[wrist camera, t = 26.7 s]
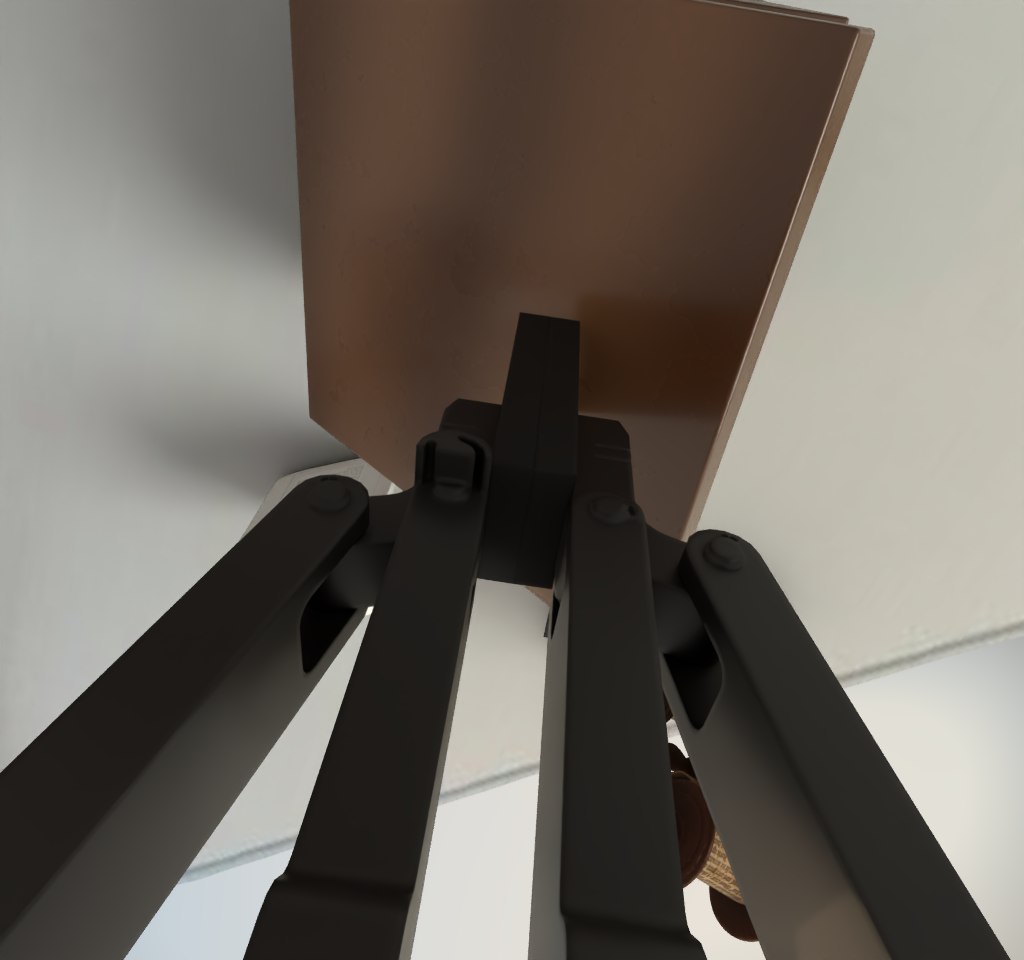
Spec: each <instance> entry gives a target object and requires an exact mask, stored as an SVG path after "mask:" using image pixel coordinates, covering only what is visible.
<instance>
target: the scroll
mask: <svg viewBox="0 0 1024 960" xmlns="http://www.w3.org/2000/svg"><path fill="white" fill-rule="evenodd" d="M663 697H664V707H665V717H666V722H668V721H669V720H670V719H671V718H672V719H673V720H675V719H674V717H673V714H672V711H671V709H670V706H669V703H668V701H667V698H666V696H665V693H664V690H663ZM668 747H669V756H670V766H671V770H672V771H674V772H671V776H672V786H673V796H674V806H675V816H676V826H677V836H678V845H679V855H680V865H681V875H682V885H683V888H684V887H686V886H687V885H689V884H690V883H691V882H692V881H693V880H694V879H695V878H698V879H699V880H701V881H702V882H704V883H706V884H707V885H709V893H710V901H711V905H712V909H713V912H714V914H715V917H716V919H717V920H718V922H719V923H720V925H721V926H722V927H723V928H724V930H726V931H727V932H728V933H729V934H730V935H732V936H734V937H735V938H737V939H740V940H743V941H748V942H755V941H759V940H758V937H757V935H756V932H755V930H754V927H753V924H752V922H751V919H750V916H749V914H748V911H747V909H746V906H745V903H744V901H743V898H742V895H741V893H740V890H739V887H738V885H737V882H736V880H735V877H734V874H733V872H732V869H731V866H730V864H729V861H728V859H727V856H726V853H725V851H724V848H723V845H722V843H721V840H720V838H719V835H718V832H717V830H716V827H715V824H714V822H713V819H712V817H711V814H710V811H709V809H708V806H707V803H706V801H705V798H704V795H703V793H702V790H701V788H700V785H699V782H698V780H697V777H696V774H695V772H694V769H693V767H692V764H691V761H690V759H689V758H685V756H684V755H683V753H682V752H681V750H680V749H679V748H678V747H677V746H676V745H674V744H672V743H668Z"/></svg>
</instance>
